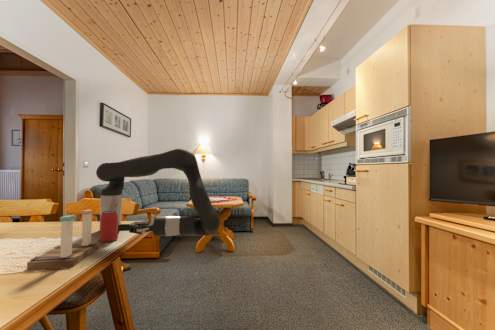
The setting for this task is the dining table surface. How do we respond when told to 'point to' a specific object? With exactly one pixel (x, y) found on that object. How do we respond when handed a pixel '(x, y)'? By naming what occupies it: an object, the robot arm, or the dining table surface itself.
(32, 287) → the dining table surface
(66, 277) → the dining table surface
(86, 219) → the white tall bar
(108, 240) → the beer can
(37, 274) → the dining table surface
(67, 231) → the teal slider
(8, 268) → the dining table surface
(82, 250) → the wooden slider base
